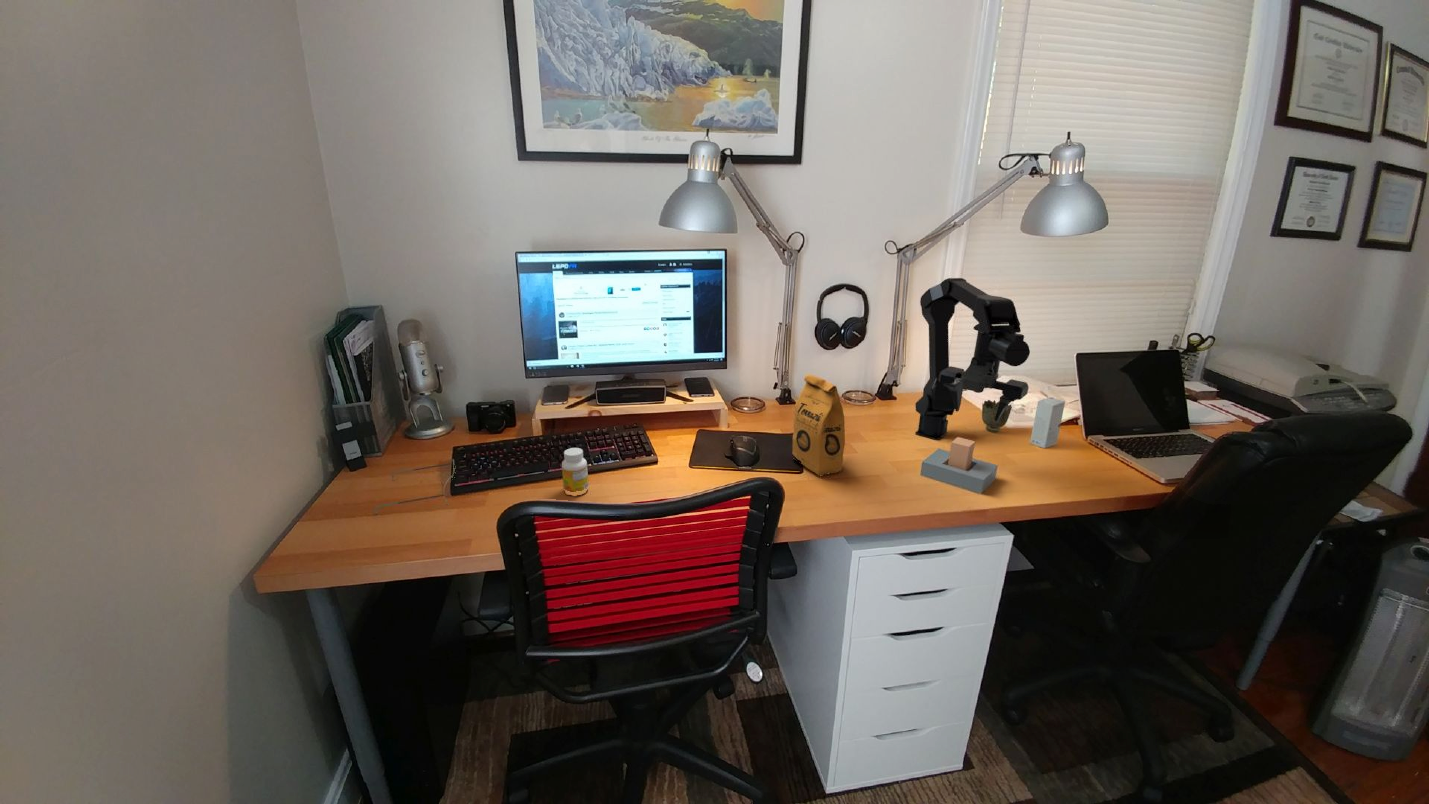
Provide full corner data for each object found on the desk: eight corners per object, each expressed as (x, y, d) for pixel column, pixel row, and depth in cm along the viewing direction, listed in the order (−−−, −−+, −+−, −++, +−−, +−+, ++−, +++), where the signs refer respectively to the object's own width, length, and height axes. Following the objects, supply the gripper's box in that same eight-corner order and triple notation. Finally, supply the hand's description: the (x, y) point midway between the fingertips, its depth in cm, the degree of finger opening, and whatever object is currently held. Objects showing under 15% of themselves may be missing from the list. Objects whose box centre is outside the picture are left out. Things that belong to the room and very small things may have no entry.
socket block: (920, 474, 142) (922, 461, 140) (936, 461, 149) (938, 448, 148) (981, 494, 133) (983, 480, 132) (995, 478, 140) (997, 465, 139)
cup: (984, 423, 173) (989, 397, 170) (1011, 431, 168) (1016, 404, 165) (973, 430, 168) (978, 403, 165) (1000, 438, 163) (1005, 410, 160)
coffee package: (813, 480, 139) (820, 390, 131) (786, 458, 149) (791, 374, 142) (849, 472, 142) (857, 385, 135) (820, 452, 153) (826, 370, 146)
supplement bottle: (561, 488, 134) (557, 449, 130) (584, 483, 136) (581, 444, 133) (568, 499, 129) (564, 458, 126) (592, 493, 132) (589, 453, 128)
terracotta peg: (945, 477, 141) (951, 442, 138) (951, 471, 144) (957, 437, 140) (963, 482, 138) (969, 446, 135) (968, 476, 141) (975, 441, 138)
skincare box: (1045, 449, 156) (1054, 405, 152) (1028, 443, 160) (1037, 400, 156) (1057, 443, 160) (1067, 401, 155) (1041, 438, 163) (1050, 396, 159)
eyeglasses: (453, 507, 126) (449, 486, 125) (375, 516, 123) (370, 495, 121) (462, 474, 141) (459, 455, 139) (392, 481, 137) (388, 462, 135)
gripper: (933, 352, 138) (924, 415, 143) (1019, 369, 126) (1005, 437, 132) (952, 343, 146) (943, 403, 151) (1035, 358, 134) (1021, 423, 139)
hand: (976, 416), depth 143 cm, fingers open, 9 cm apart
